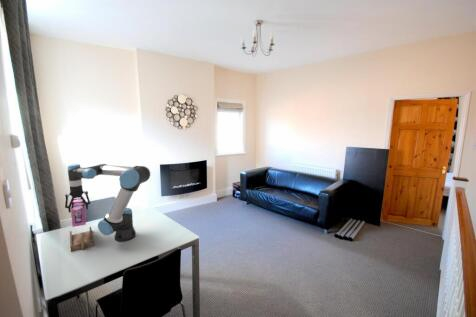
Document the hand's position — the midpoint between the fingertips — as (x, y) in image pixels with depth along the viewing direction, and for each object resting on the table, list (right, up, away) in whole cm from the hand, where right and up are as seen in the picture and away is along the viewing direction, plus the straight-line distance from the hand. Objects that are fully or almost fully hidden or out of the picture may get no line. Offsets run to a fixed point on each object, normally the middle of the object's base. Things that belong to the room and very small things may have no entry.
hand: (79, 214), depth 171 cm
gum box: (0, -4, +1) cm, 4 cm away
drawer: (0, -21, +3) cm, 21 cm away
